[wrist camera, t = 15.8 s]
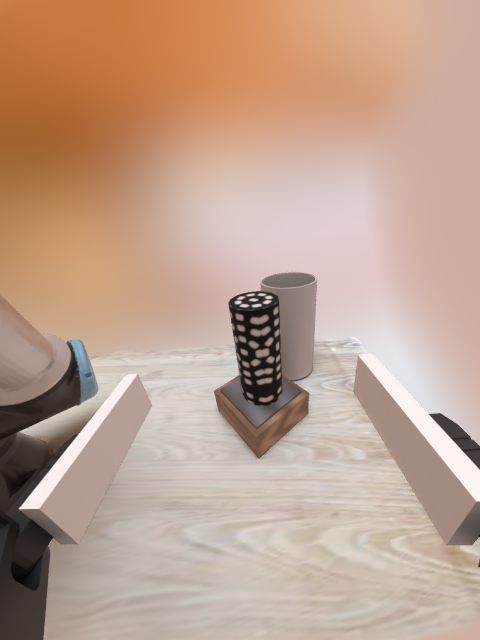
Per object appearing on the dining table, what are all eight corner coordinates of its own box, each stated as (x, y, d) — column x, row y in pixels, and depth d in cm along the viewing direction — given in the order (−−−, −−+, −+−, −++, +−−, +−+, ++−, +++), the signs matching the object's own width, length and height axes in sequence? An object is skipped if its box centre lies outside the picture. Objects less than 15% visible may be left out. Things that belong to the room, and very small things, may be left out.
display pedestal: (258, 458, 37) (255, 435, 34) (218, 410, 47) (213, 389, 44) (308, 413, 44) (308, 391, 41) (263, 379, 54) (261, 360, 51)
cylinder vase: (314, 384, 51) (319, 287, 40) (263, 379, 54) (255, 289, 43) (311, 353, 61) (315, 271, 50) (269, 351, 65) (264, 273, 54)
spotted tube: (234, 394, 42) (218, 305, 33) (256, 371, 48) (247, 289, 39) (269, 413, 37) (261, 314, 28) (289, 384, 43) (288, 294, 34)
